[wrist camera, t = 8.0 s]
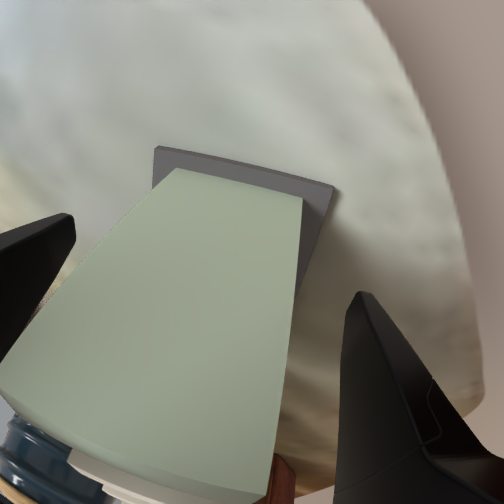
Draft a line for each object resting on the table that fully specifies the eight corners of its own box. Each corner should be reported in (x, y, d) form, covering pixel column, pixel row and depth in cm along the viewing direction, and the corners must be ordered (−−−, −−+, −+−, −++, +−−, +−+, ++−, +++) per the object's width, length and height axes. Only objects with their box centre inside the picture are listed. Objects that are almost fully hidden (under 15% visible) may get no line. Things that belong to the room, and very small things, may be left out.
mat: (163, 415, 26) (161, 419, 26) (158, 145, 12) (154, 148, 12) (235, 436, 26) (235, 439, 25) (333, 185, 12) (333, 189, 11)
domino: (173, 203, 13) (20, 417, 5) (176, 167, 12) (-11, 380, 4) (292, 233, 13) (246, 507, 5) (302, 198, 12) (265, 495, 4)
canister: (78, 349, 22) (-12, 523, 8) (175, 429, 28) (126, 577, 13) (29, 362, 28) (-36, 479, 13) (106, 426, 33) (61, 535, 19)
